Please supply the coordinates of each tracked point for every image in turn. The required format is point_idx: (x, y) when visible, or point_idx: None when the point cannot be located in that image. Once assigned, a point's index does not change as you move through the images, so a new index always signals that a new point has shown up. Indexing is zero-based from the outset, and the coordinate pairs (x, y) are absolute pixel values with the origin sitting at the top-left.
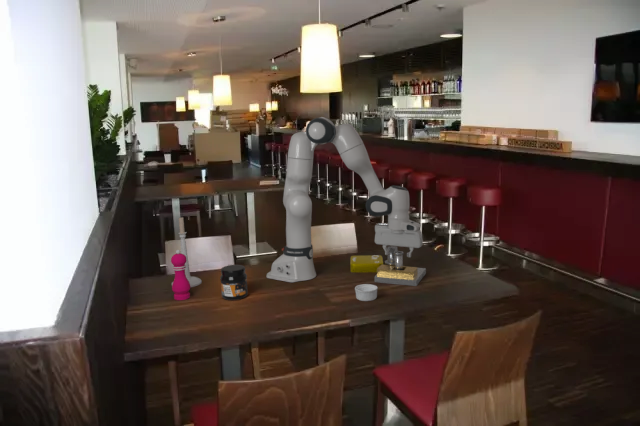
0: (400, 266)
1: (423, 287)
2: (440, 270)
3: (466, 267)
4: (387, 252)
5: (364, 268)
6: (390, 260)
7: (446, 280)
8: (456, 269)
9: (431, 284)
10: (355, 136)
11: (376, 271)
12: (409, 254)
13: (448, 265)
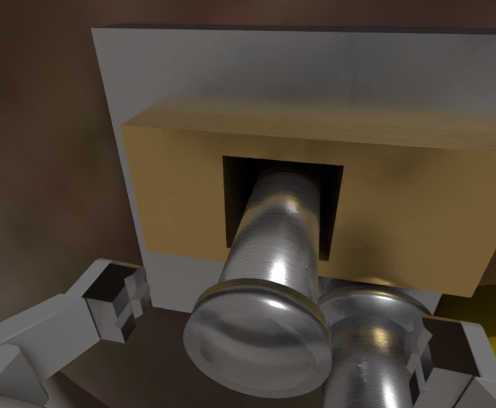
0: (255, 199)
1: (61, 6)
2: None
3: None
4: (450, 354)
5: None
6: (385, 334)
7: (22, 192)
8: None
9: (51, 98)
10: None
11: (489, 288)
12: (82, 284)
13: (122, 376)
